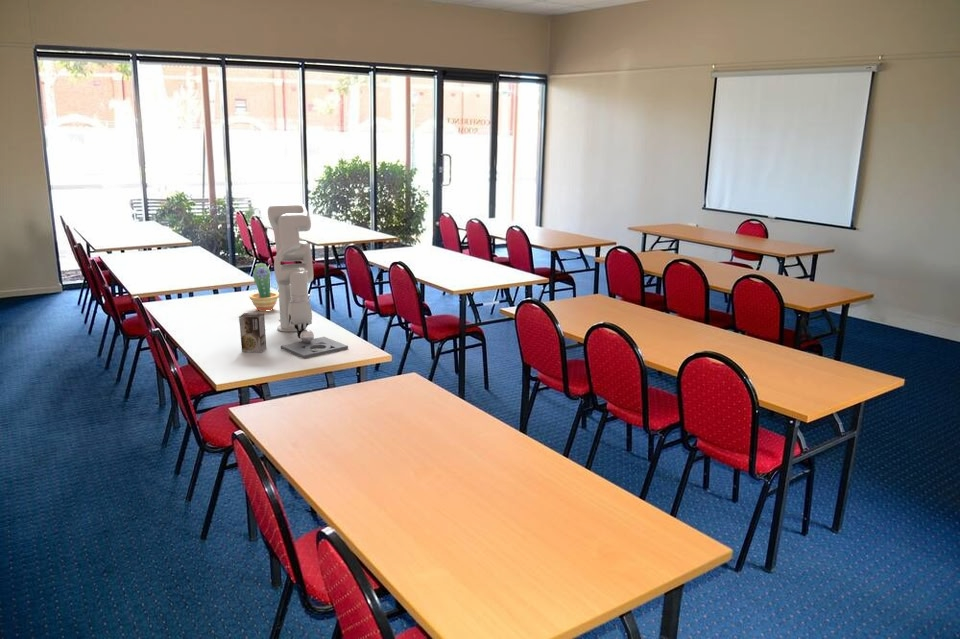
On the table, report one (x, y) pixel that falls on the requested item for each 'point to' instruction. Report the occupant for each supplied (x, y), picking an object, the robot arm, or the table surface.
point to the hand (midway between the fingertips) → (301, 338)
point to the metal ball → (306, 336)
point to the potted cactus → (263, 289)
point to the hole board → (309, 348)
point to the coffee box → (252, 332)
